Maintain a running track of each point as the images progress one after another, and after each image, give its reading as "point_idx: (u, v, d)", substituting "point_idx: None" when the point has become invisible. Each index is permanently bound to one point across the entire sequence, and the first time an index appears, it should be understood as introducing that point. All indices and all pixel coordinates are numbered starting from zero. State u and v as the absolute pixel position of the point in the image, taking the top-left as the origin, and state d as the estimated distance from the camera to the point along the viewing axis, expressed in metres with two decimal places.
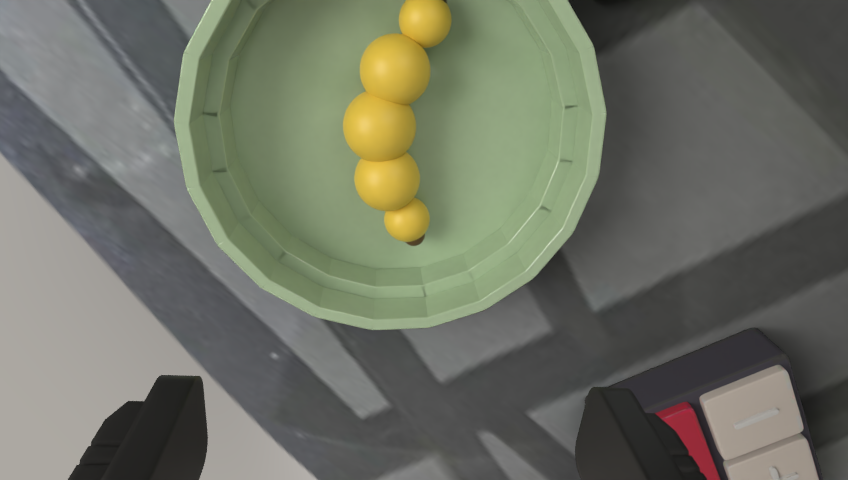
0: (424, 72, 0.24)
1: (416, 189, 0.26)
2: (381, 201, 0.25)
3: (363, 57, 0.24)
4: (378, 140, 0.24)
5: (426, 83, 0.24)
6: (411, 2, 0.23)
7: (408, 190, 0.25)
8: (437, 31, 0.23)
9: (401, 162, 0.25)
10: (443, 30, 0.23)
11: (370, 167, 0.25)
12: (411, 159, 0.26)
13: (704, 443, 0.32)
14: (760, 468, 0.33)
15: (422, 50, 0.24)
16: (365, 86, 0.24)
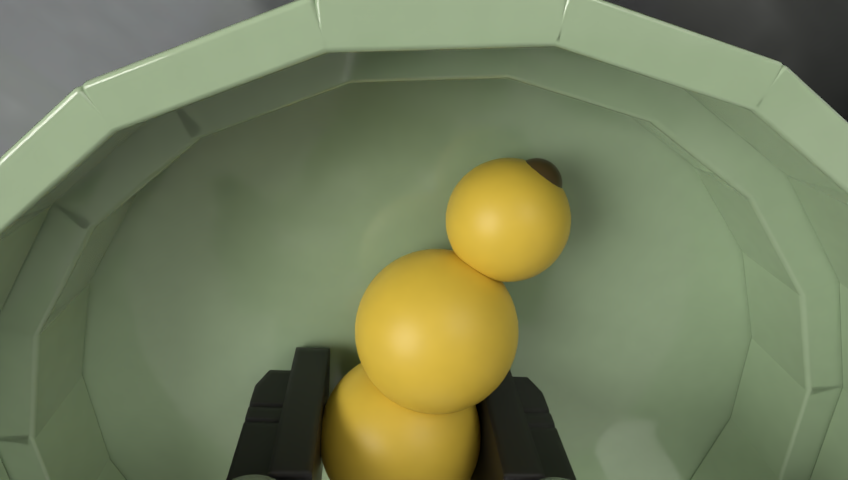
0: (509, 352, 0.10)
1: None
2: None
3: (363, 316, 0.10)
4: None
5: (510, 366, 0.10)
6: (480, 195, 0.09)
7: None
8: (542, 260, 0.10)
9: None
10: (556, 255, 0.10)
11: None
12: None
13: None
14: None
15: (503, 298, 0.10)
16: (368, 376, 0.10)
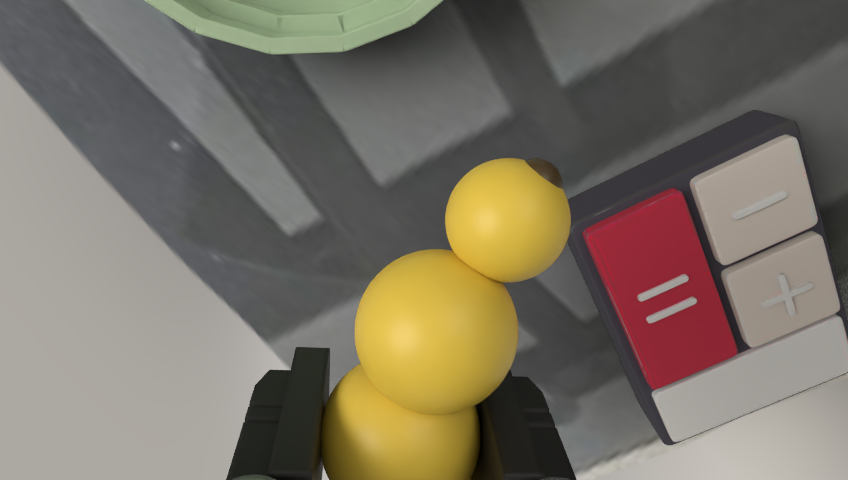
0: (509, 352, 0.10)
1: None
2: None
3: (363, 316, 0.10)
4: None
5: None
6: (480, 195, 0.09)
7: None
8: (542, 261, 0.10)
9: None
10: (555, 255, 0.10)
11: None
12: None
13: (697, 241, 0.27)
14: (766, 277, 0.28)
15: (503, 298, 0.10)
16: (368, 376, 0.10)
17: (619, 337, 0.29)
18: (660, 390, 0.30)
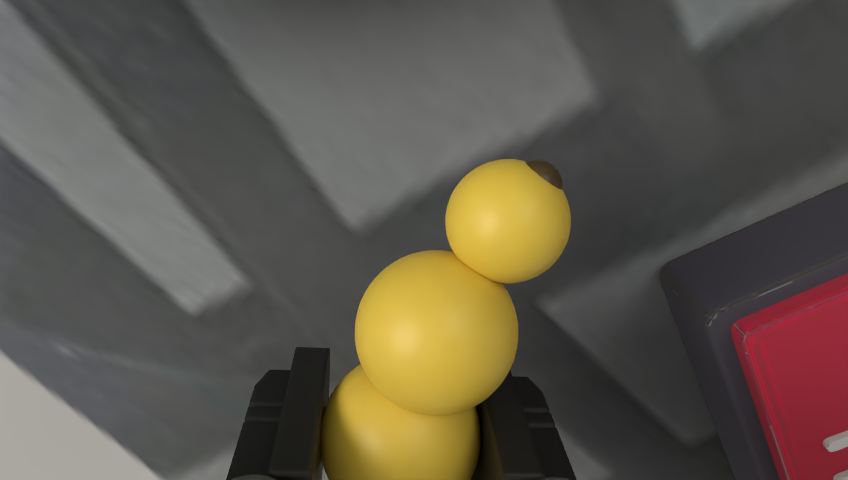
0: (509, 353, 0.10)
1: None
2: None
3: (363, 317, 0.10)
4: None
5: (510, 367, 0.10)
6: (480, 196, 0.09)
7: None
8: (542, 262, 0.10)
9: None
10: (555, 256, 0.10)
11: None
12: None
13: None
14: None
15: (503, 299, 0.10)
16: (368, 377, 0.10)
17: None
18: None
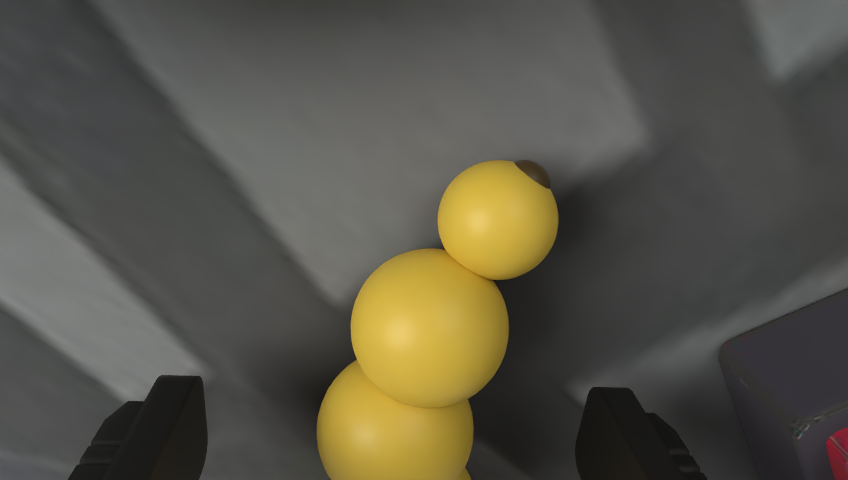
0: (500, 347, 0.10)
1: None
2: None
3: (358, 314, 0.10)
4: None
5: (501, 360, 0.11)
6: (471, 196, 0.10)
7: None
8: (531, 259, 0.10)
9: None
10: (544, 253, 0.10)
11: None
12: None
13: None
14: None
15: (494, 295, 0.10)
16: (364, 372, 0.11)
17: None
18: None
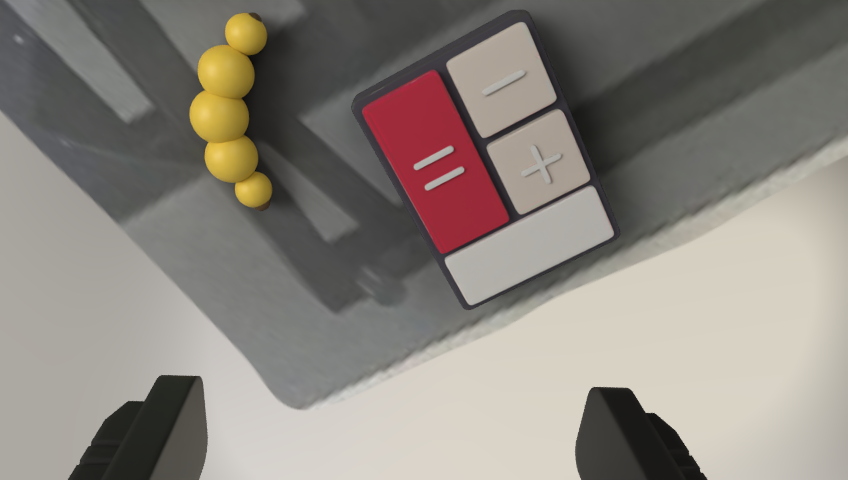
0: (244, 73, 0.31)
1: (253, 164, 0.34)
2: (223, 174, 0.33)
3: None
4: (212, 126, 0.31)
5: (249, 82, 0.32)
6: (230, 21, 0.31)
7: (244, 164, 0.33)
8: (252, 42, 0.31)
9: (236, 143, 0.33)
10: (257, 41, 0.31)
11: (212, 147, 0.33)
12: (247, 141, 0.33)
13: (457, 116, 0.32)
14: (521, 148, 0.33)
15: (243, 57, 0.31)
16: (202, 85, 0.32)
17: (408, 207, 0.34)
18: (450, 255, 0.35)
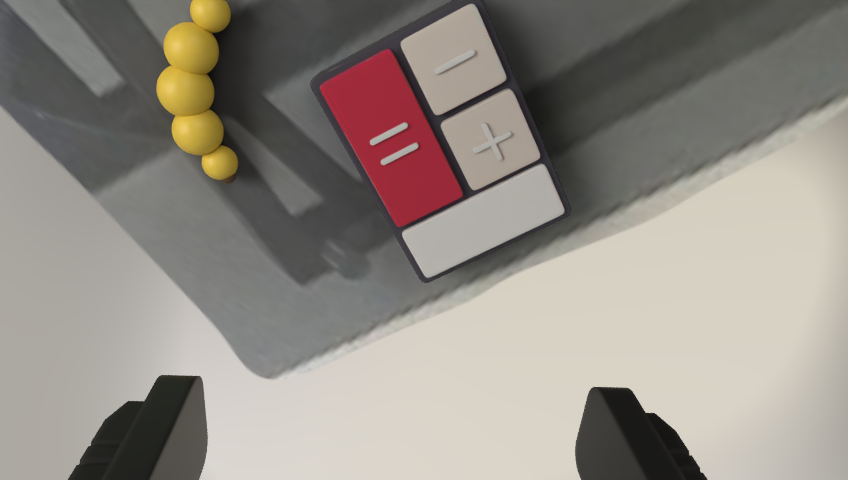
0: (208, 49, 0.33)
1: (217, 137, 0.35)
2: (188, 146, 0.35)
3: None
4: (176, 99, 0.33)
5: (212, 58, 0.33)
6: None
7: (209, 137, 0.35)
8: (215, 20, 0.33)
9: (201, 116, 0.34)
10: (220, 19, 0.33)
11: (178, 120, 0.34)
12: (212, 115, 0.35)
13: (410, 93, 0.33)
14: (473, 126, 0.34)
15: (207, 34, 0.33)
16: (168, 60, 0.33)
17: (366, 181, 0.36)
18: (407, 229, 0.37)
